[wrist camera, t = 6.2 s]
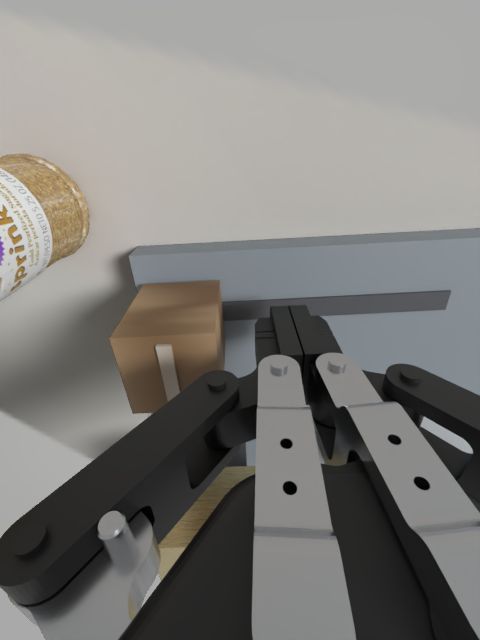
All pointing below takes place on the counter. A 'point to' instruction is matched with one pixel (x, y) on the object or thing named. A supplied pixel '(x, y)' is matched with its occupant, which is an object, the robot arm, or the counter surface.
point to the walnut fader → (169, 341)
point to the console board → (343, 296)
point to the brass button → (199, 515)
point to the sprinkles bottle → (36, 219)
